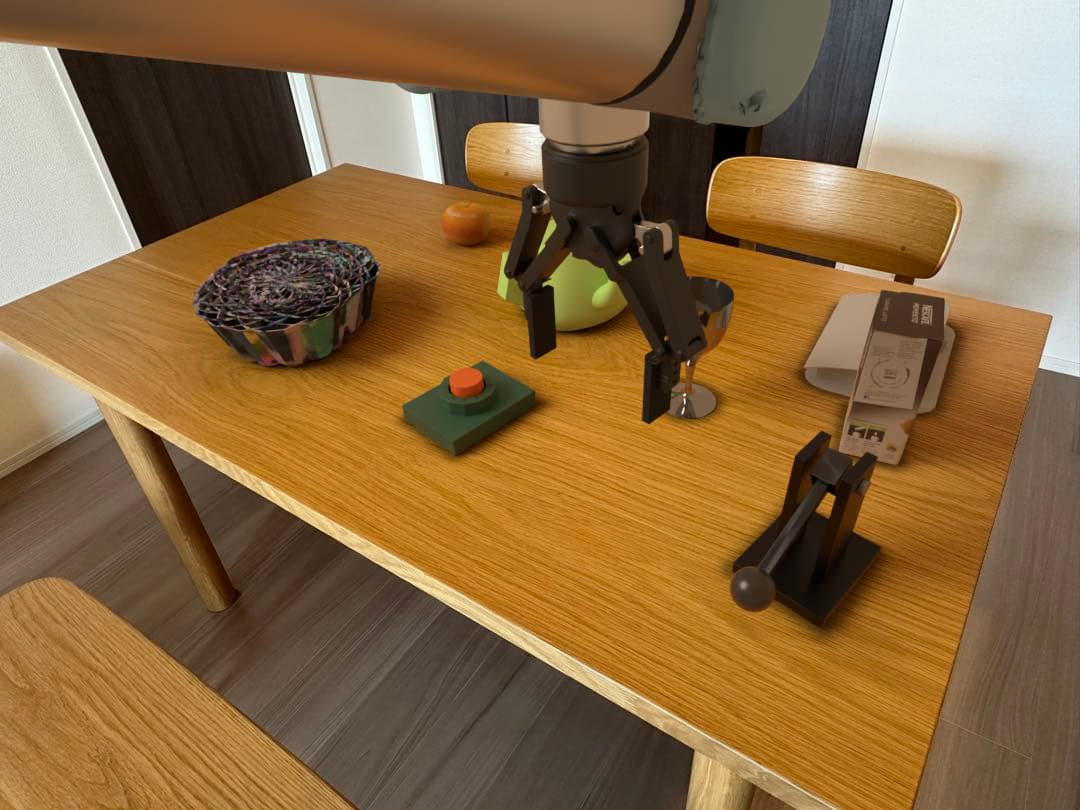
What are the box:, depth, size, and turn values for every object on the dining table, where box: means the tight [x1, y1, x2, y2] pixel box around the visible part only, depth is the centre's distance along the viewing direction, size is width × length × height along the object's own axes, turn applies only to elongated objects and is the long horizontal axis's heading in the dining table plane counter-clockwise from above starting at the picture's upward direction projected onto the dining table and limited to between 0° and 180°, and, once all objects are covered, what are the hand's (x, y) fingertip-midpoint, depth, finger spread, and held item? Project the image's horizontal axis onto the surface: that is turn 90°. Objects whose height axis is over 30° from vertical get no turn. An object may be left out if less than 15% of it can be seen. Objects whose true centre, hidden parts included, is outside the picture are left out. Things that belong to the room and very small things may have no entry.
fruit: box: [441, 201, 492, 246], centre depth 124 cm, size 8×8×8 cm
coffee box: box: [838, 289, 946, 466], centre depth 74 cm, size 9×6×16 cm
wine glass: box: [665, 275, 735, 419], centre depth 81 cm, size 8×8×15 cm
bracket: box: [731, 430, 883, 629], centre depth 61 cm, size 11×9×14 cm
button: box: [449, 367, 484, 398], centre depth 84 cm, size 4×4×2 cm
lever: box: [729, 446, 854, 613], centre depth 57 cm, size 15×4×4 cm, turn 134°
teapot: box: [496, 219, 631, 332], centre depth 100 cm, size 19×20×14 cm
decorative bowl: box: [192, 238, 382, 368], centre depth 102 cm, size 26×28×10 cm
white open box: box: [803, 293, 956, 415], centre depth 90 cm, size 15×23×4 cm, turn 148°
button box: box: [401, 360, 537, 457], centre depth 85 cm, size 13×10×4 cm
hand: (596, 382), depth 61 cm, fingers open, 13 cm apart
